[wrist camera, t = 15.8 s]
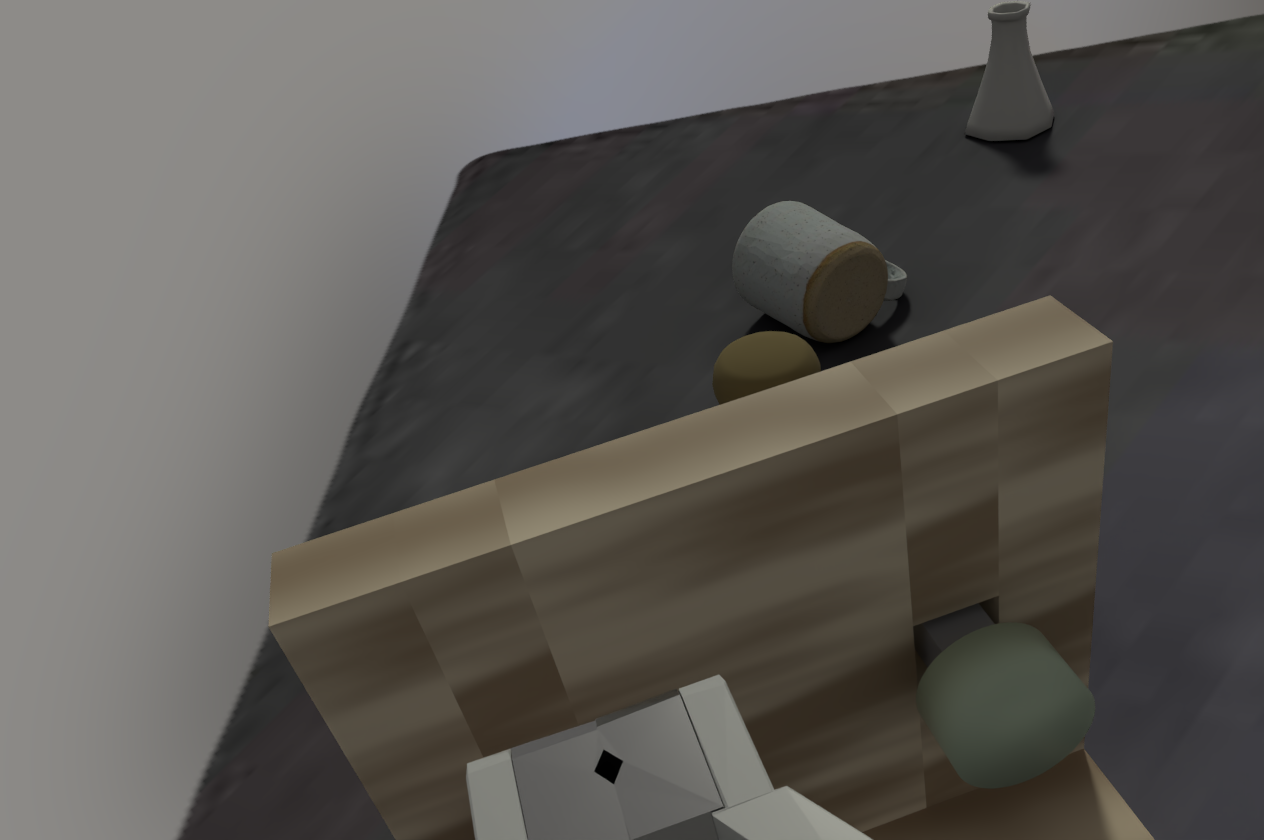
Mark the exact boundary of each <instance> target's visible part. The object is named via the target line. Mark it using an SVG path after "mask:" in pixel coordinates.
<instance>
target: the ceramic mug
mask: <svg viewBox="0 0 1264 840" xmlns="http://www.w3.org/2000/svg"><path fill="white" fill-rule="evenodd" d="M732 273H733V280H734V283H735V287H736V289H737V291H738V292H739V294H740V296H741V297H742V298H743V299H744V300H745V301H746V302H747V303H749V304H750V305H751V306H753V307H755V308H757V309H759V310H761V311H762V312H764V313H766V314H767V315H769V316H771V317H772V318H774V319H776V320H778V321H780V322H782V323H783V324H785V325H787V326H788V327H790V328H792V329H793V330H794V331H796V332H798V333H800V334H802V335H803V336H805V337H808V338H810V339H813V340H816V341H819V342H824V343H835V342H842V341H844V340H847V339H849V338H851V337H853V336H855V335H857V334H858V333H859V332H861V331H862V330H863V329H864V328H865V327H866V326H867V325H868V324H869V323H870V322H871V321H872V320H873V319H874V317H875V316H876V314H877V312H878V311H879V309H880V307H881V305H882V303H883V301H891V300H895V299H898V298H900V297H901V295H902V293H903V290H904V288H905V284H906V279H907V275H906V273H905V272H904V271H903V270H902V269H900V268H899V267H898V266H896V265H894V264H892V263H890V262H887V261H885V260H884V257H883V255H882V254H881V253H880V251H879V250H878V249H877V248H876V247H875V246H874V245H873V244H872V243H871V242H869V241H868V240H867V239H865V238H864V237H862V236H861V235H860V234H858V233H856V232H854V231H852V230H850V229H848V228H846V227H844V226H842V225H840V224H839V223H837V222H835V221H834V220H832V219H830V218H828V217H827V216H825V215H823V214H821V213H820V212H818V211H816V210H815V209H813V208H811V207H810V206H807V205H805V204H803V203H800V202H794V201H782V202H779V203H776V204H773V205H770V206H768V207H767V208H765V209H764V210H762V211H761V212H760V213H758V214H757V215H756V216H755V217H754V218H753V219H752V220H751V221H750V222H749V223H748V225H747V226H746V227H745V229H744V230H743V232H742V234H741V236H740V238H739V240H738V242H737V245H736V247H735V251H734V255H733V261H732Z"/></svg>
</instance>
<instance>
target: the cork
mask: <svg viewBox="0 0 1264 840" xmlns="http://www.w3.org/2000/svg"><path fill="white" fill-rule="evenodd" d="M818 372H821V366H820V362H819V360H818V357H817V355H816V353H815V352H814V350H813V349H812V347H811V346H810V345H809V344H808V343H807V342H806V341H805V340H803V339H802V338H800V337H798V336H797V335H794V334H790V333H787V332H778V331H765V332H757V333H754V334H750V335H747V336H744V337H742V338H740V339H738V340H736V341H734V342H732V343H731V344H729V345H728V346H727V347H726V348H725V349H723V351H722V352H721V354H720V356H719V357H718V359H717V361H716V363H715V365H714V374H713V389H714V393H715V396H716V398H717V400H718V402H719V404H720V405H721V404H724V403H727V402H730V401H733V400H736V399H739V398H742V397H745V396H748V395H752V394H755V393H758V392H761V391H764V390H767V389H770V388H773V387H776V386H779V385H782V384H785V383H788V382H791V381H794V380H797V379H800V378H803V377H806V376H809V375H812V374H815V373H818Z"/></svg>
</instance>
